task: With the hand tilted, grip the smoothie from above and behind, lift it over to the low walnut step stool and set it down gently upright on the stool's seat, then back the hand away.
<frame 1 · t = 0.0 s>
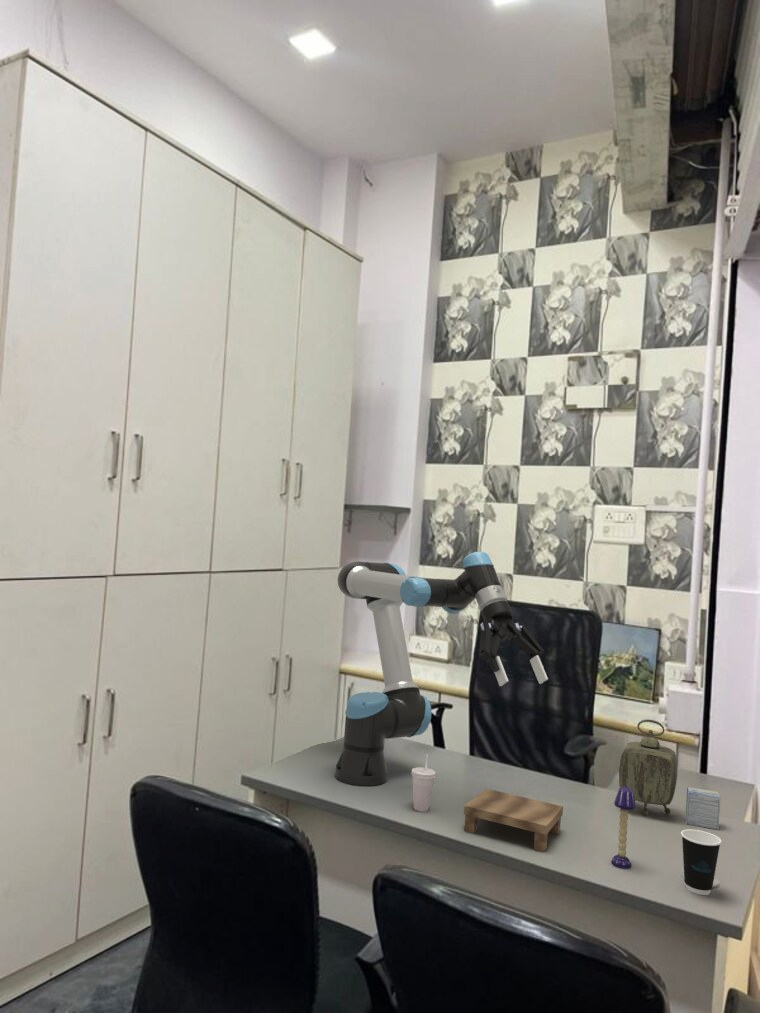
hand: (524, 682, 182), 36 cm above the table, tool tilted 35°, fingers open, 13 cm apart
tabletop clock: (645, 813, 202), on the table
dixie cup: (697, 890, 156), on the table
medicine box: (701, 825, 196), on the table
step stool: (512, 831, 181), on the table
toy lamp: (621, 865, 166), on the table
smoothie: (420, 809, 191), on the table
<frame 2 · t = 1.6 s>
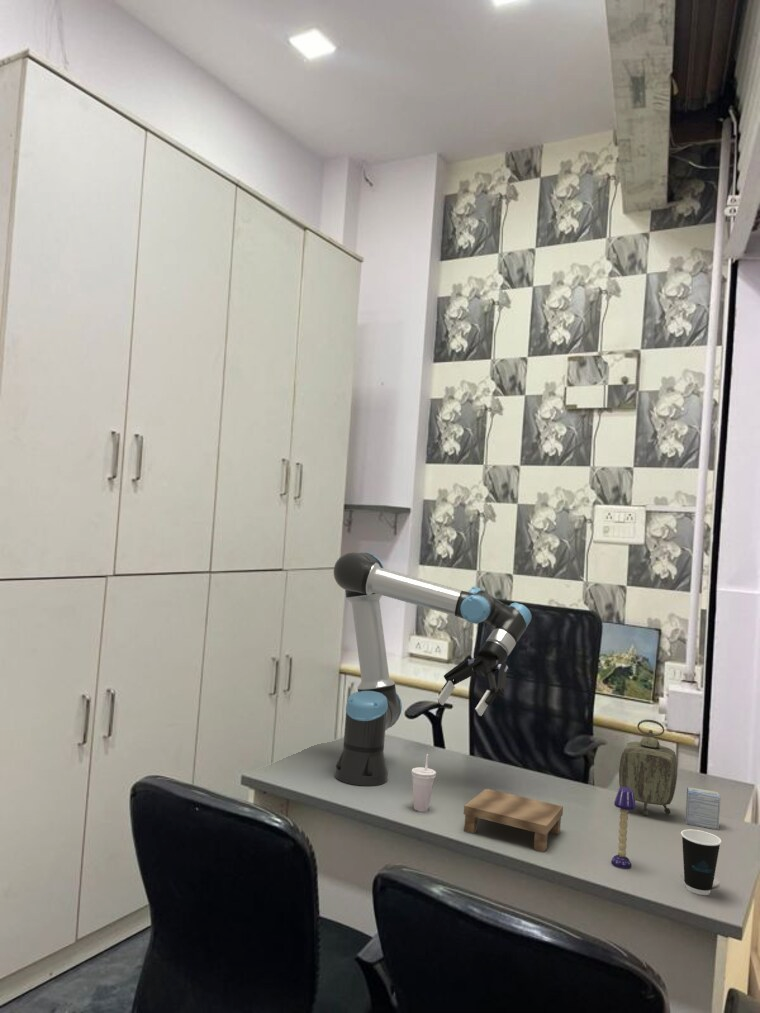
hand: (458, 707, 201), 25 cm above the table, tool tilted 45°, fingers open, 13 cm apart
nothing on the table moved.
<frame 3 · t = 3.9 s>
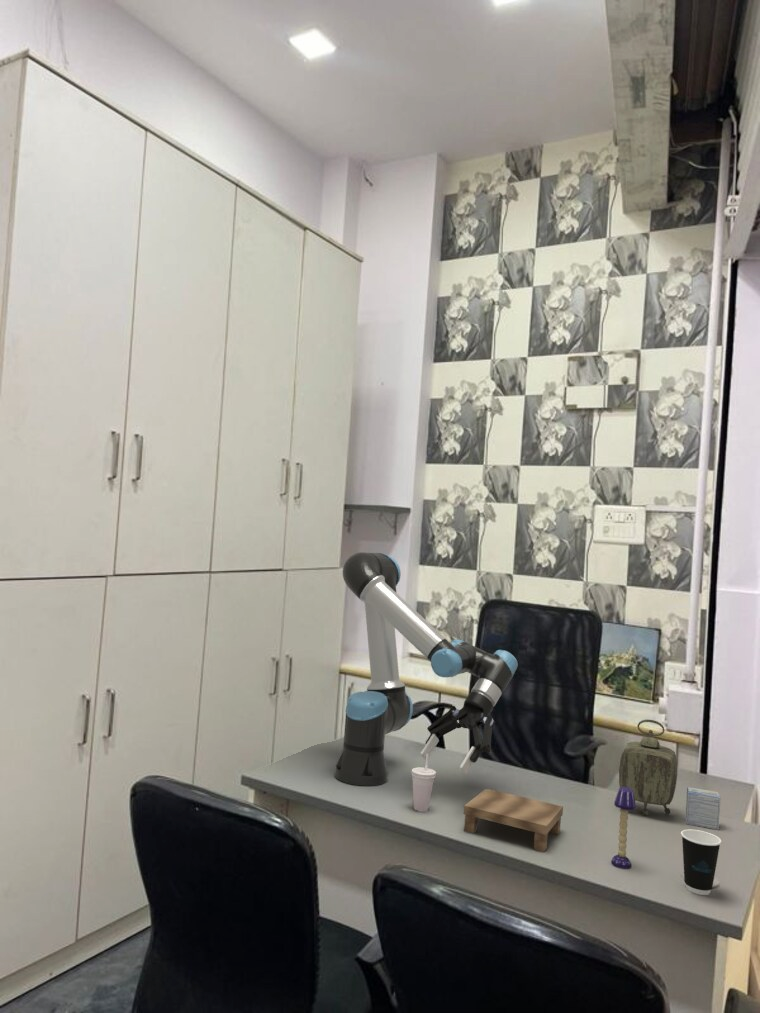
hand: (442, 763, 194), 11 cm above the table, tool tilted 45°, fingers open, 13 cm apart
nothing on the table moved.
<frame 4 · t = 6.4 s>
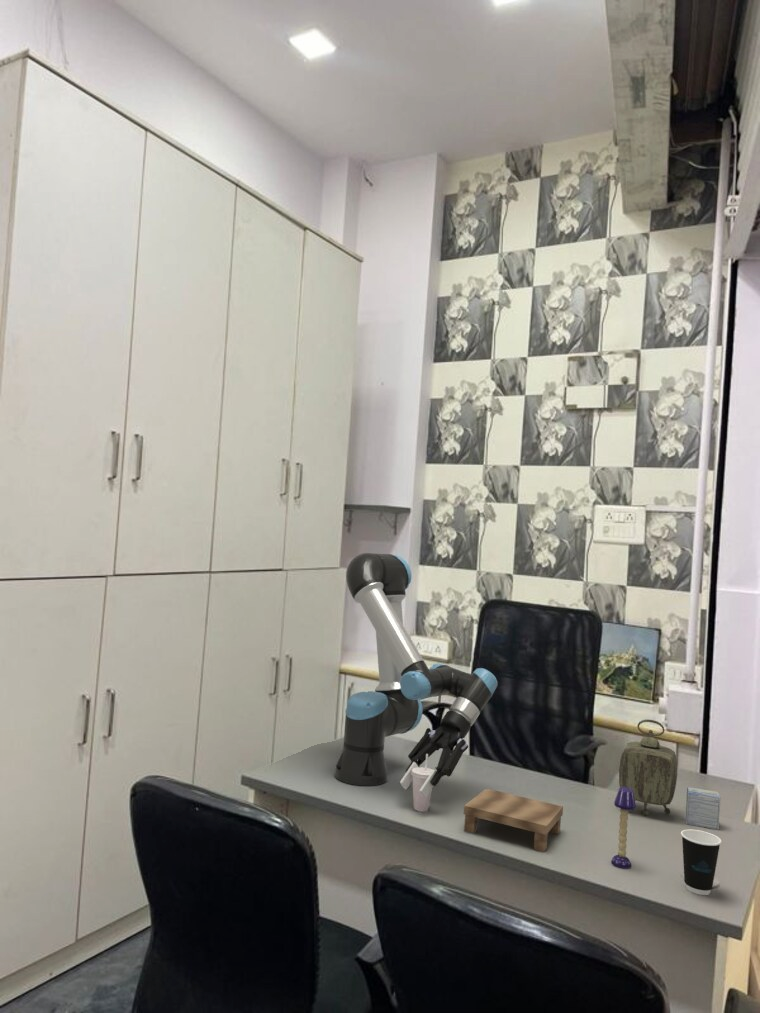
hand: (412, 789, 189), 5 cm above the table, tool tilted 45°, fingers closed on smoothie, 6 cm apart
smoothie: (420, 809, 191), on the table, touching gripper
everything else where it was.
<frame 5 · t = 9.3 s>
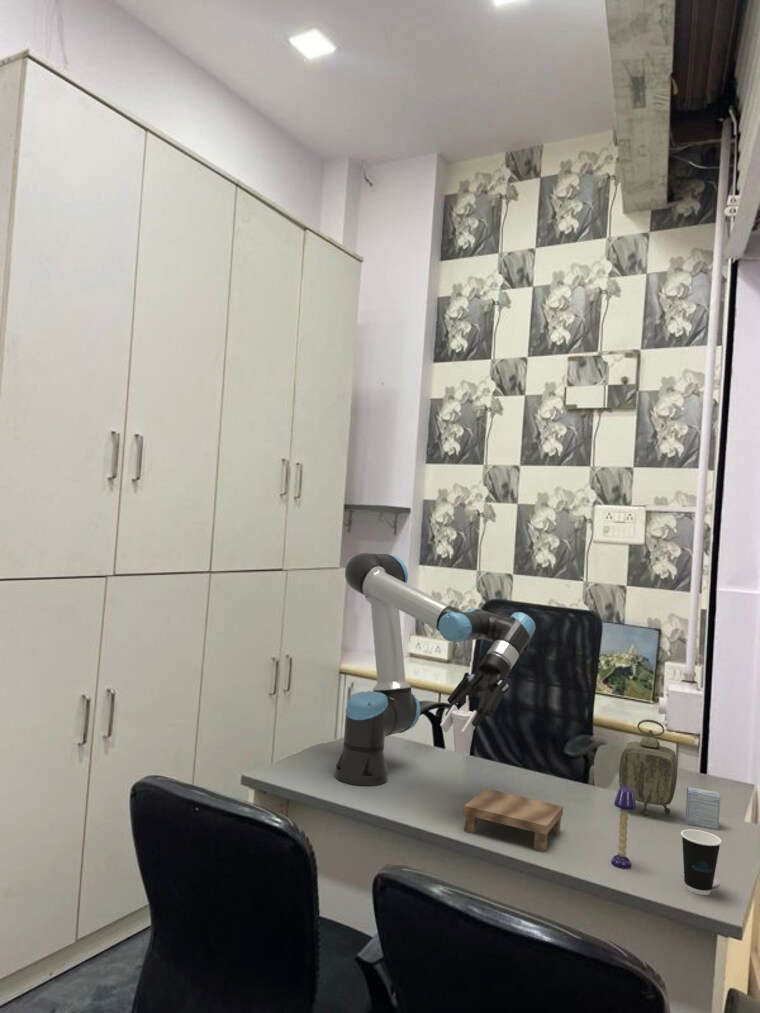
hand: (453, 731, 185), 22 cm above the table, tool tilted 45°, fingers closed on smoothie, 6 cm apart
smoothie: (462, 752, 187), point 16 cm above the table, touching gripper
everything else where it was.
when the fingers open (13 cm above the table, at t = 12.2 s): smoothie drops 1 cm, resting on step stool.
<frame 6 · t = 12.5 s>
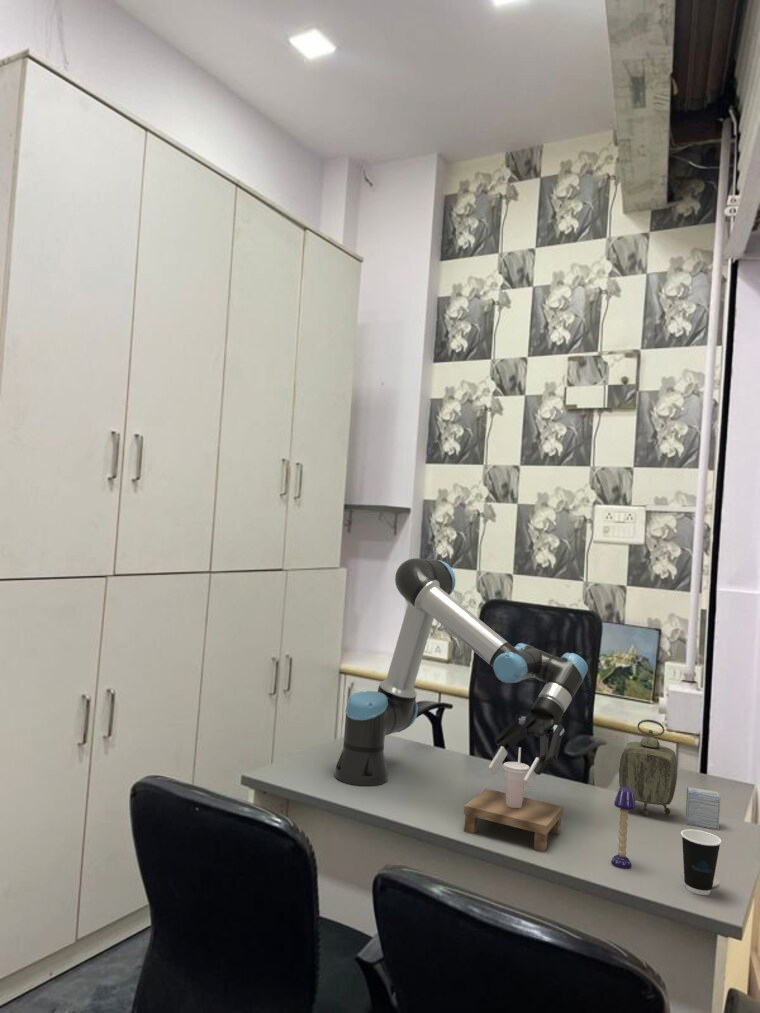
hand: (508, 777, 179), 13 cm above the table, tool tilted 45°, fingers open, 10 cm apart
smoothie: (513, 806, 181), point 6 cm above the table, touching step stool
everything else where it was.
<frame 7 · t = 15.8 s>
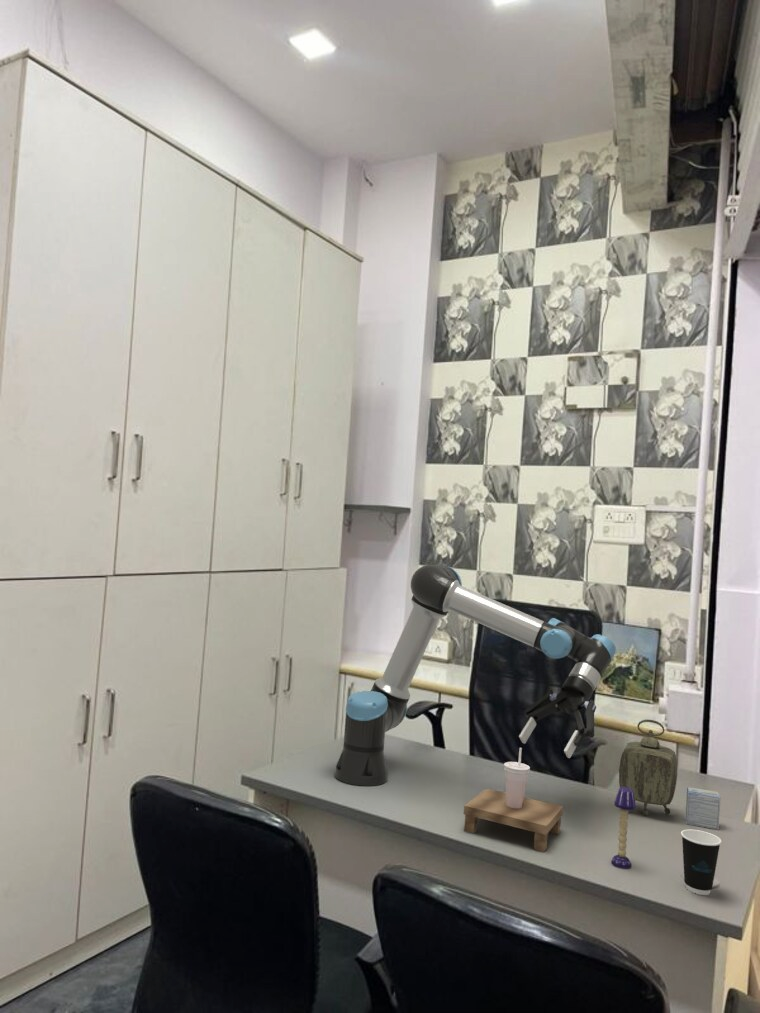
hand: (543, 747, 189), 19 cm above the table, tool tilted 45°, fingers open, 13 cm apart
nothing on the table moved.
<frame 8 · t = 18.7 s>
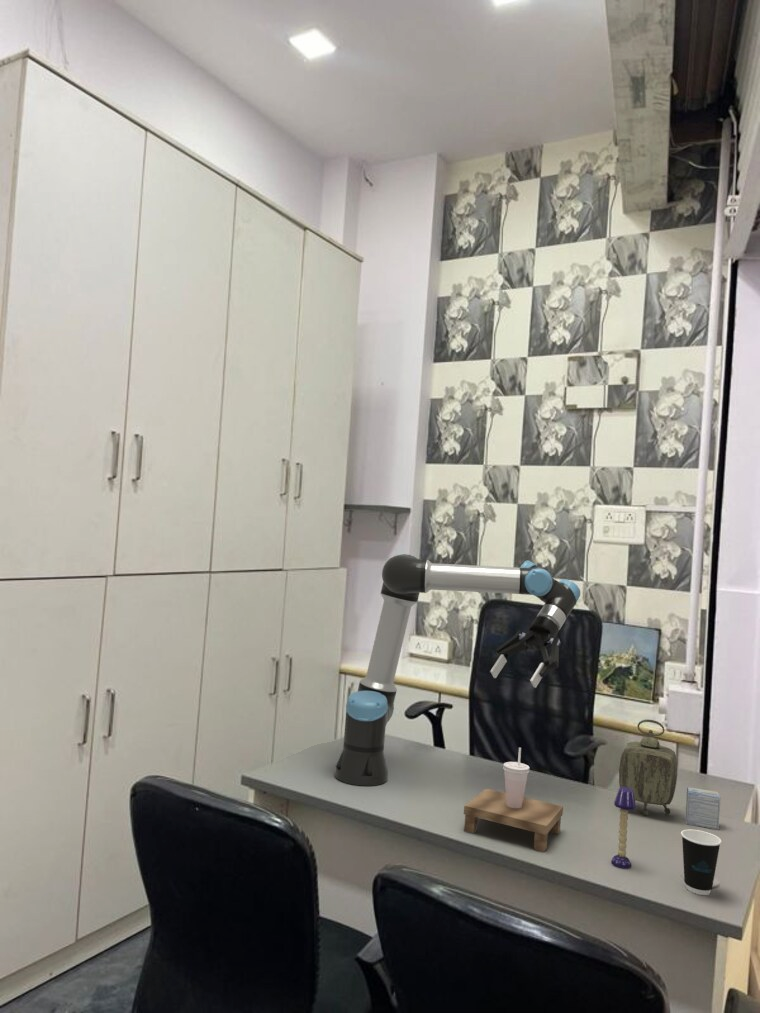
hand: (512, 679, 205), 33 cm above the table, tool tilted 45°, fingers open, 13 cm apart
nothing on the table moved.
at the end: smoothie inside the target area on the step stool (0.2 cm from its centre), point 5.8 cm above the step stool's base; smoothie tilted 0°; the gripper is holding nothing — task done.
